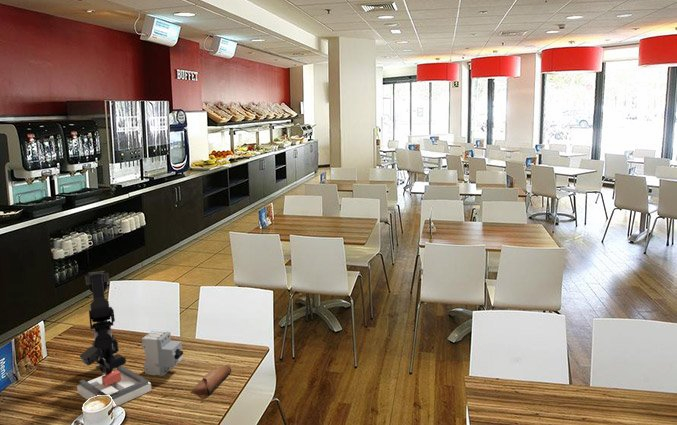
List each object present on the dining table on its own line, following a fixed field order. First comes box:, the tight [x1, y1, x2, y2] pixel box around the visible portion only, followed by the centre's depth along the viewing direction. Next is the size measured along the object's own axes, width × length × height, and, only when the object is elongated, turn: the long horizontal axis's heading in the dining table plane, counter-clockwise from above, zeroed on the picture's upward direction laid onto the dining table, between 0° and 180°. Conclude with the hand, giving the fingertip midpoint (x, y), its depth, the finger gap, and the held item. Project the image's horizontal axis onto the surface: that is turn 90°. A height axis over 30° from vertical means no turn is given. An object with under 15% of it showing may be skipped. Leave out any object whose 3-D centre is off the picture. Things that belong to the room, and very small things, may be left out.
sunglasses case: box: [190, 364, 232, 397], centre depth 207 cm, size 18×7×7 cm
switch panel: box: [76, 369, 153, 406], centre depth 201 cm, size 20×18×3 cm
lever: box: [101, 370, 121, 388], centre depth 202 cm, size 2×6×6 cm, turn 140°
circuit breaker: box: [141, 330, 184, 377], centre depth 215 cm, size 8×14×15 cm, turn 78°
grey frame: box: [78, 365, 149, 400], centre depth 201 cm, size 20×16×2 cm
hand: (108, 377), depth 203 cm, fingers closed
